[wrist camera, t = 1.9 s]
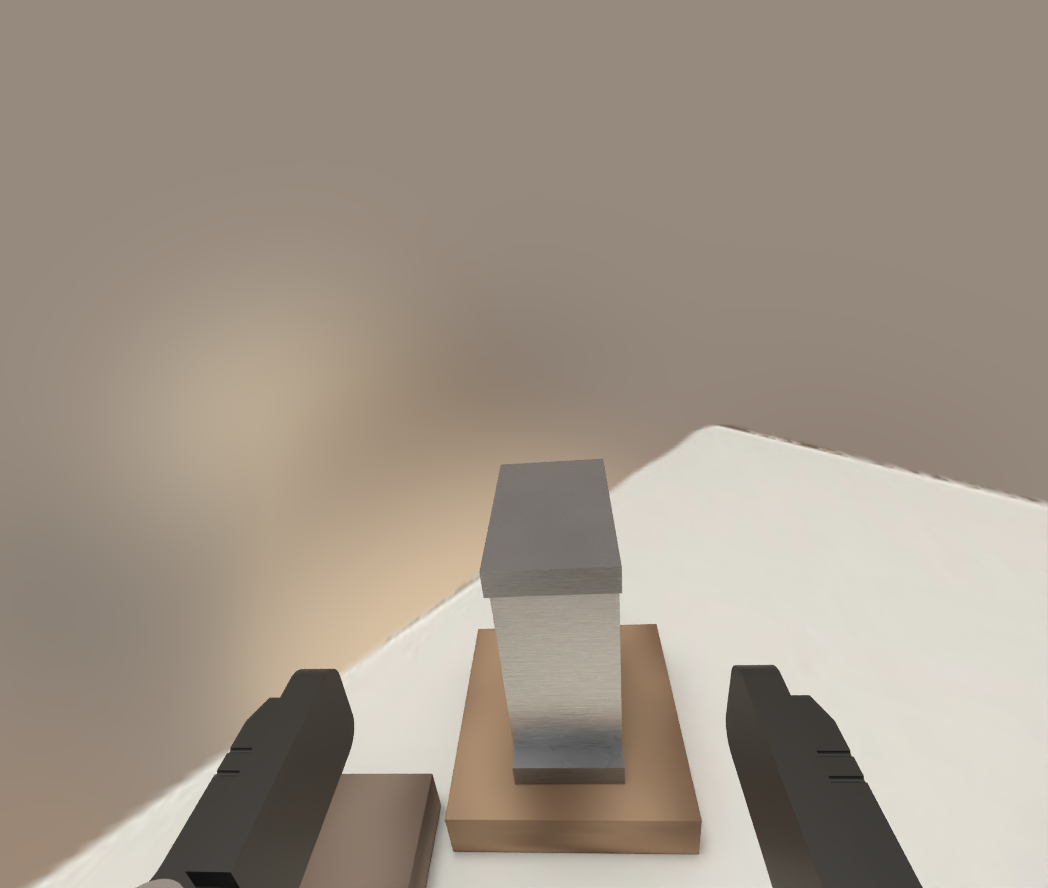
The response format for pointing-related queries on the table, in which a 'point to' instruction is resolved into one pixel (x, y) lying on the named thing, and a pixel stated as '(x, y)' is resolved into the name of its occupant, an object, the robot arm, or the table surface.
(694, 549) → the table surface
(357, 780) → the stand
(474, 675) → the stand
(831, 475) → the table surface
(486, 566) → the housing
